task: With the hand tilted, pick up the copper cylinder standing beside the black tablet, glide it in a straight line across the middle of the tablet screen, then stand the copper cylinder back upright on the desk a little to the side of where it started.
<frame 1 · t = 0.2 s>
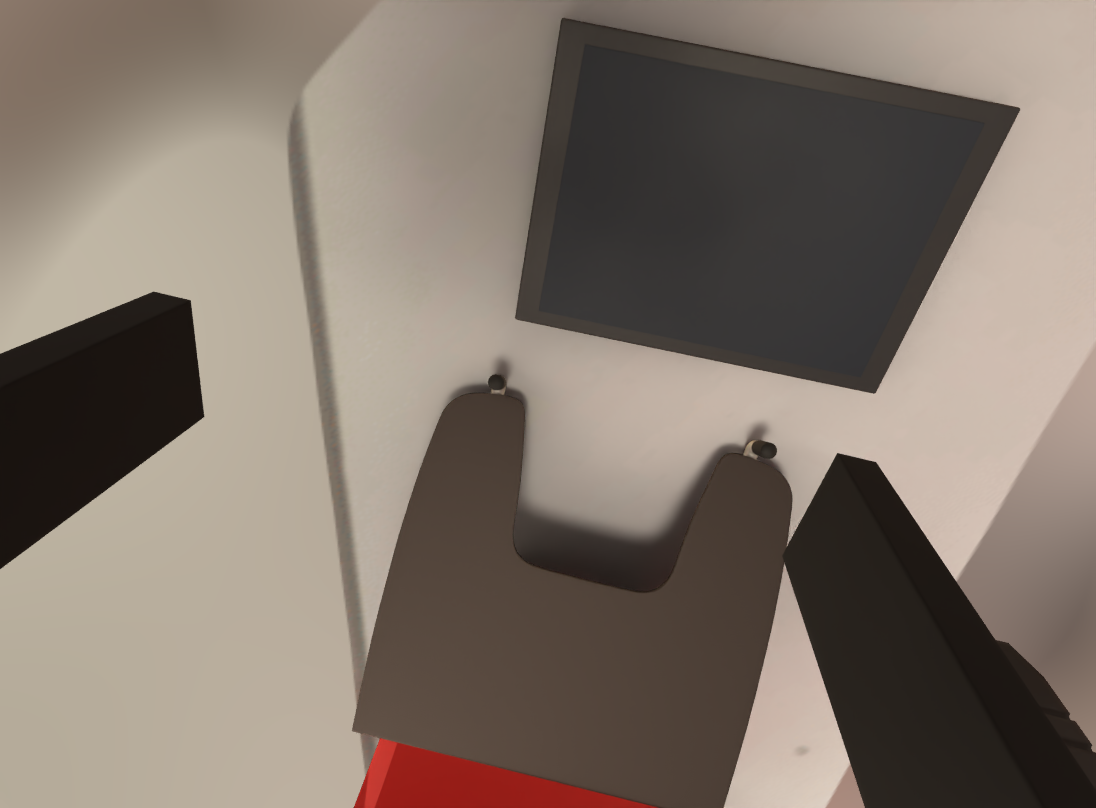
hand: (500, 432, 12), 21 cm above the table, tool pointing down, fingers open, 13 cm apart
book: (539, 748, 51), on the table
laptop tray: (588, 526, 39), on the table
tablet: (732, 223, 29), on the table
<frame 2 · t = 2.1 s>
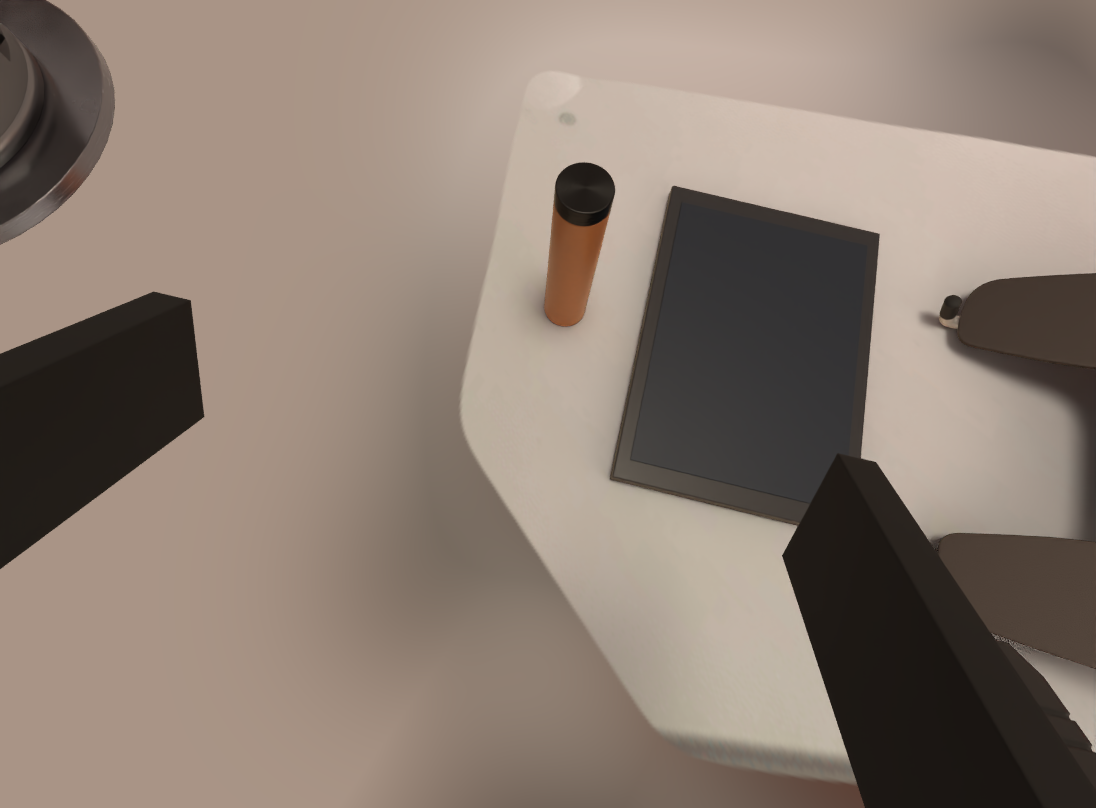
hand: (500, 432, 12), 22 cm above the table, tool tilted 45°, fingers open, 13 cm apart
copper cylinder: (564, 307, 36), on the table
laptop tray: (1078, 477, 35), on the table
tablet: (749, 351, 36), on the table
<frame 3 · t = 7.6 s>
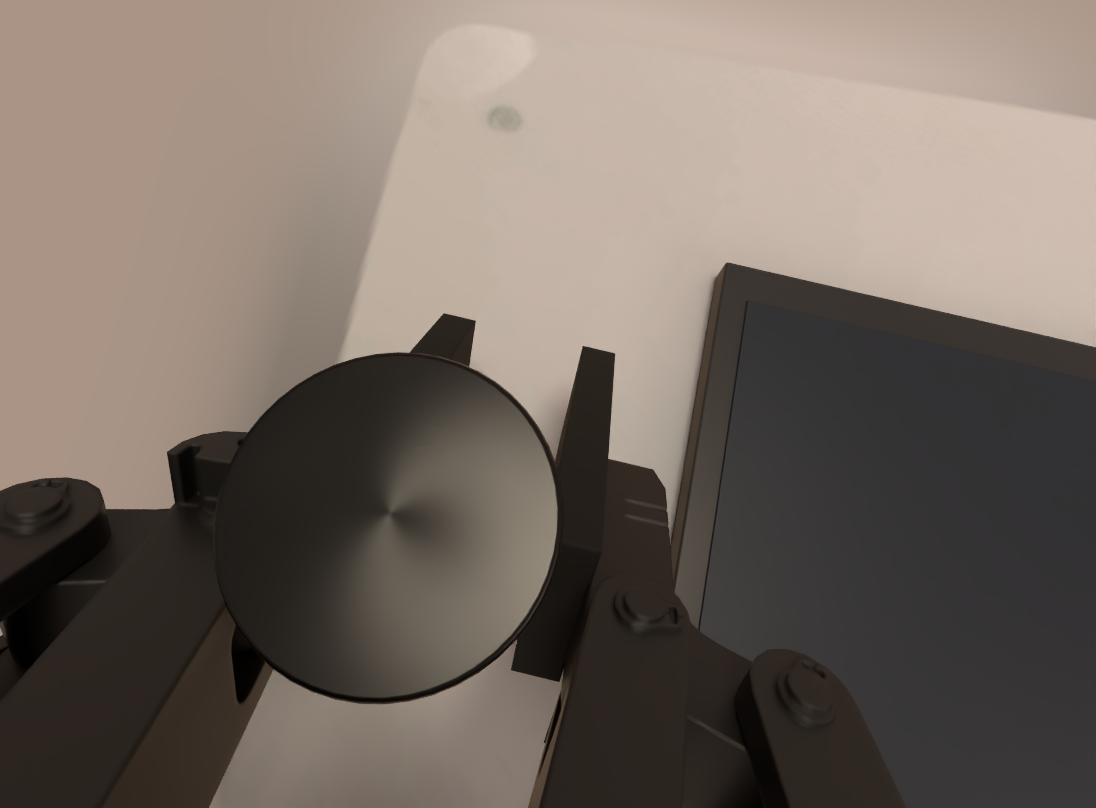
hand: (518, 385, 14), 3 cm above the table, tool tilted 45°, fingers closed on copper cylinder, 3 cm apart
copper cylinder: (485, 552, 16), on the table, touching gripper
tablet: (913, 655, 16), on the table
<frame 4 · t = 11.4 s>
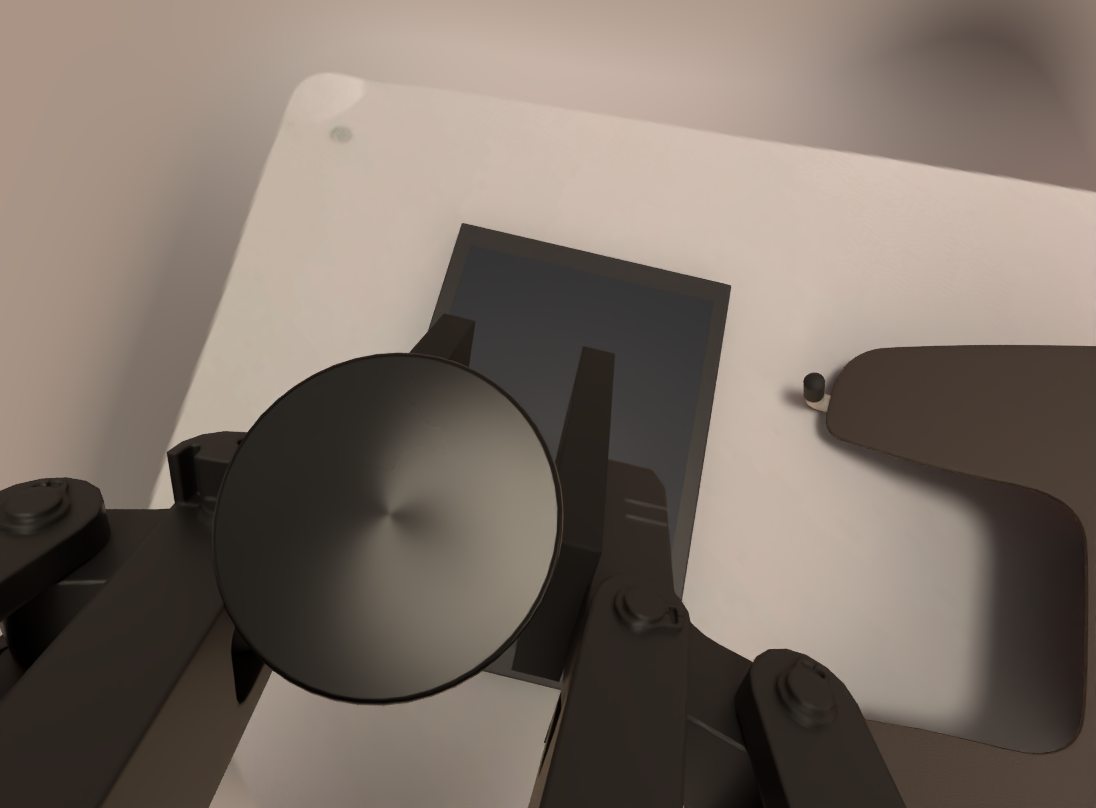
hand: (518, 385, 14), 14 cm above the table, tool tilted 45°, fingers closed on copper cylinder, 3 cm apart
copper cylinder: (484, 552, 16), point 10 cm above the table, touching gripper
laptop tray: (983, 616, 26), on the table
tablet: (550, 446, 27), on the table
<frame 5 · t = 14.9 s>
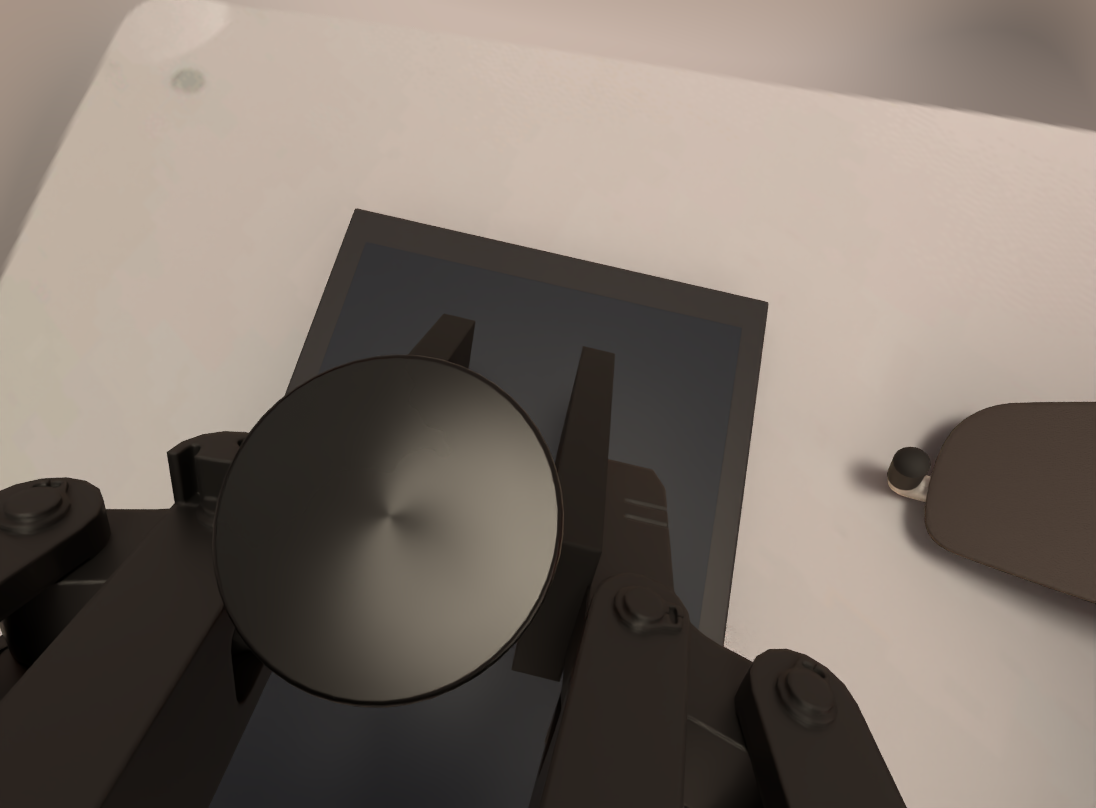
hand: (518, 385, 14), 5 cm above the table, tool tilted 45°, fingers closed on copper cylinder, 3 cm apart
copper cylinder: (485, 552, 16), point 1 cm above the table, touching gripper
tablet: (485, 561, 17), on the table
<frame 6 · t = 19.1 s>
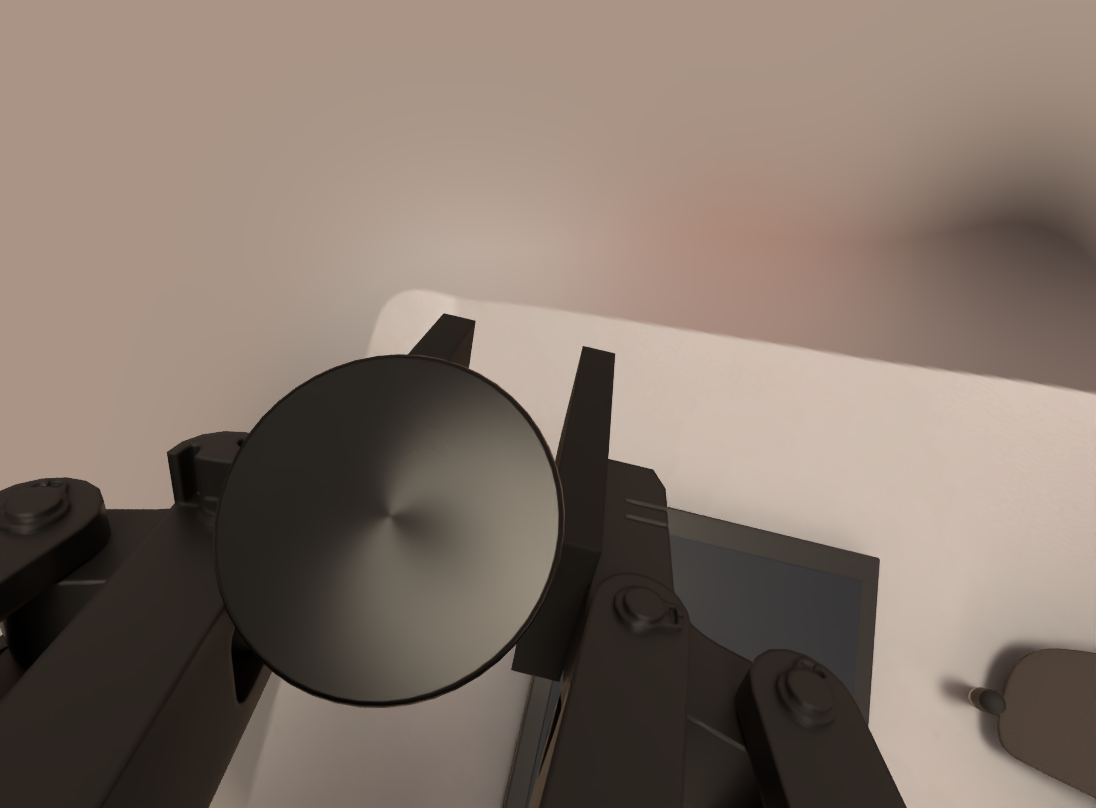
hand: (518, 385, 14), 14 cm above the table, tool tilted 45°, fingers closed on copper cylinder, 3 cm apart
copper cylinder: (485, 552, 16), point 10 cm above the table, touching gripper
tablet: (685, 759, 24), on the table
when the fingers open (3 cm above the table, at t = 22.3 s): copper cylinder stays where it is, on the table.
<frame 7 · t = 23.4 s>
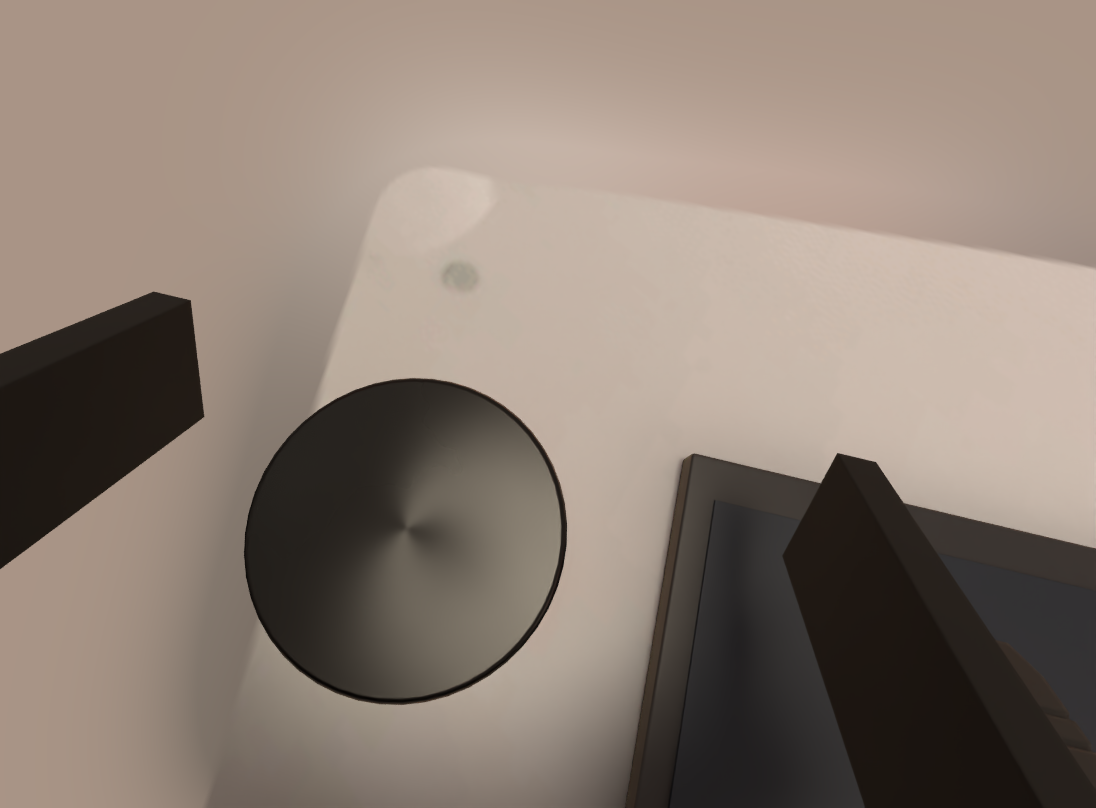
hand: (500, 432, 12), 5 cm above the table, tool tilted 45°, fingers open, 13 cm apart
copper cylinder: (488, 556, 16), on the table
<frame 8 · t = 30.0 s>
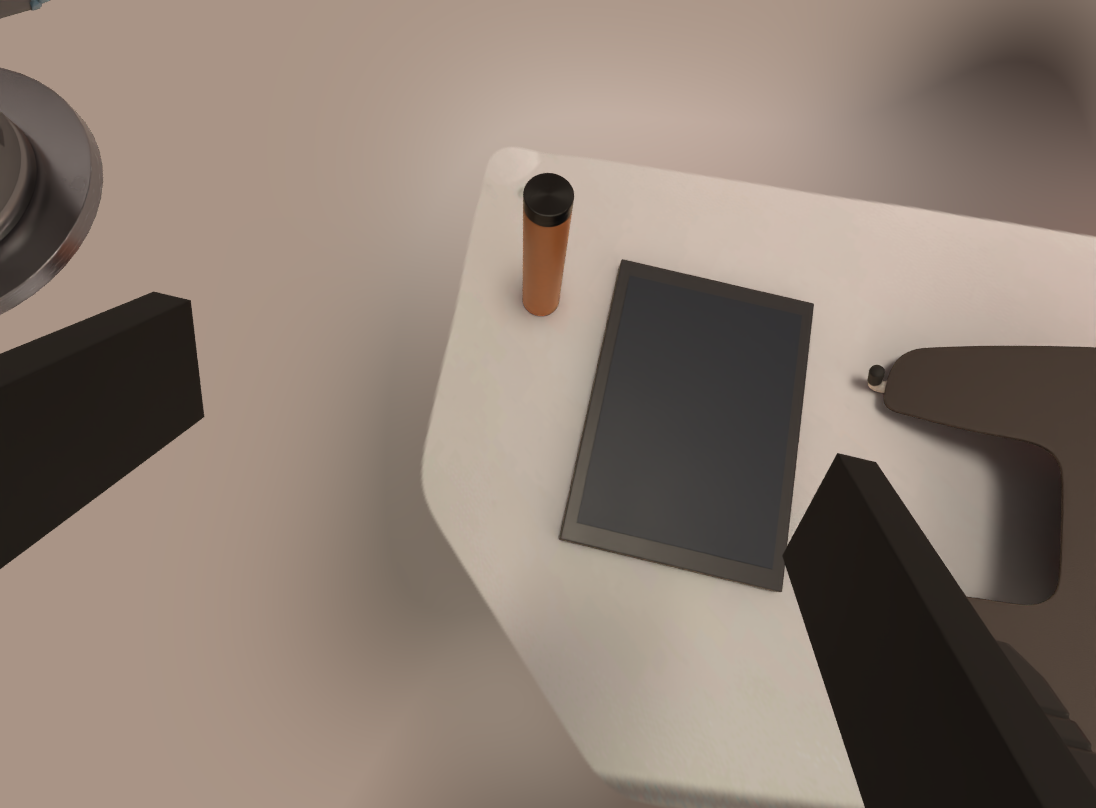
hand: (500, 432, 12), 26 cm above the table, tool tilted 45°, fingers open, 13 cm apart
copper cylinder: (540, 299, 41), on the table
laptop tray: (994, 533, 38), on the table
tablet: (691, 416, 39), on the table
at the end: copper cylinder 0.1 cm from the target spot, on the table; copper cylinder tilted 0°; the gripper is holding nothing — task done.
